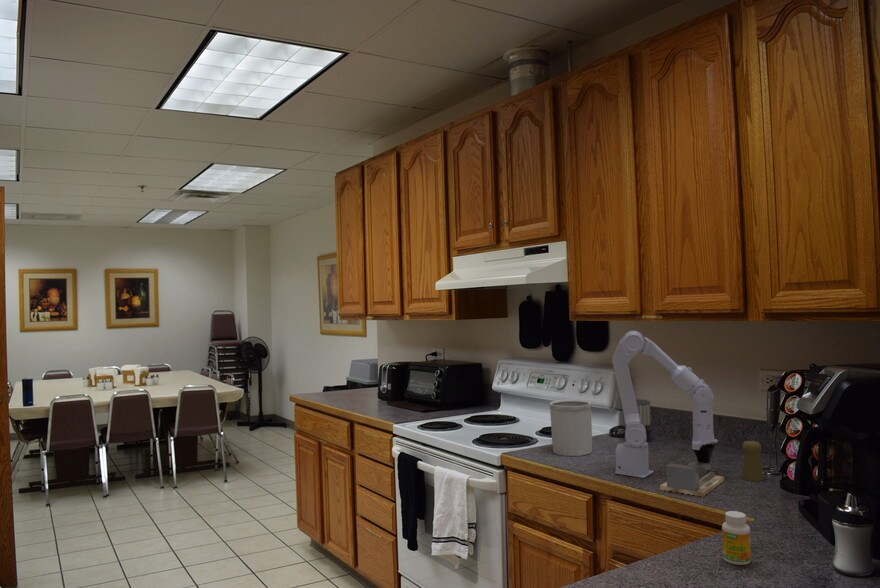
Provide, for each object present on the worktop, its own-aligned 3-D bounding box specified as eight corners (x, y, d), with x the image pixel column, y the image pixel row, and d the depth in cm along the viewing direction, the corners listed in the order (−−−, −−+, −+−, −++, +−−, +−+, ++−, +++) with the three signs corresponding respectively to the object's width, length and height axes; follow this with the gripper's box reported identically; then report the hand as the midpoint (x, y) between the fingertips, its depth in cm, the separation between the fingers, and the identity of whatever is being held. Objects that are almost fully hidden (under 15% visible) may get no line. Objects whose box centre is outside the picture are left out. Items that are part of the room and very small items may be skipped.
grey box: (666, 486, 186) (666, 465, 186) (670, 484, 188) (670, 463, 188) (695, 491, 181) (695, 469, 181) (699, 489, 183) (698, 467, 183)
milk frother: (652, 443, 243) (651, 403, 243) (608, 441, 248) (607, 402, 248) (651, 435, 257) (650, 397, 257) (609, 433, 261) (608, 396, 261)
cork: (744, 474, 200) (743, 438, 200) (766, 477, 196) (765, 440, 196) (739, 479, 195) (738, 442, 195) (761, 482, 191) (760, 444, 191)
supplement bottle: (723, 563, 137) (722, 517, 137) (722, 553, 142) (720, 508, 142) (752, 566, 135) (750, 519, 135) (749, 556, 140) (748, 511, 140)
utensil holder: (547, 455, 229) (546, 405, 229) (554, 445, 243) (552, 398, 243) (590, 458, 225) (589, 406, 224) (594, 447, 239) (593, 399, 239)
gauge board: (660, 489, 187) (659, 480, 187) (683, 474, 202) (683, 465, 202) (703, 497, 180) (703, 487, 179) (724, 480, 194) (724, 471, 194)
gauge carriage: (687, 476, 195) (687, 464, 195) (693, 472, 198) (693, 461, 198) (714, 480, 190) (714, 468, 190) (719, 476, 193) (719, 464, 193)
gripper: (709, 429, 190) (710, 476, 190) (724, 421, 202) (725, 465, 202) (684, 427, 195) (685, 472, 195) (700, 419, 206) (701, 462, 206)
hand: (704, 469), depth 199 cm, fingers closed
